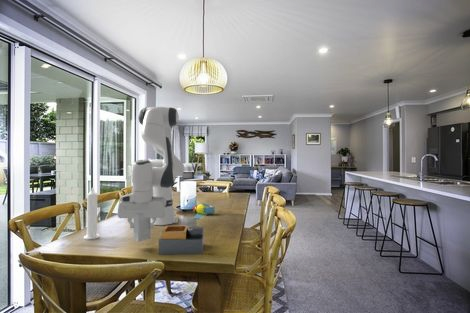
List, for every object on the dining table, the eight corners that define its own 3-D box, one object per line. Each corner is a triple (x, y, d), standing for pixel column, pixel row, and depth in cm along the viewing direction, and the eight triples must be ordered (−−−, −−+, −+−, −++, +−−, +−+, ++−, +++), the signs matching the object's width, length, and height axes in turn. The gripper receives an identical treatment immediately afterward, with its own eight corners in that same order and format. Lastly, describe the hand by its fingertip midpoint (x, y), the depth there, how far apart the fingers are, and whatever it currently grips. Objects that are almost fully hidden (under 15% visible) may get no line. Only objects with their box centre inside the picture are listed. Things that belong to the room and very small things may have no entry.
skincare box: (145, 236, 117) (145, 210, 117) (150, 238, 114) (151, 211, 114) (133, 240, 112) (133, 212, 112) (138, 242, 109) (138, 214, 109)
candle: (85, 236, 129) (85, 186, 129) (100, 234, 132) (101, 186, 132) (82, 240, 123) (82, 188, 123) (98, 238, 125) (99, 187, 125)
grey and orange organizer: (164, 244, 117) (164, 225, 117) (203, 244, 119) (203, 224, 119) (158, 254, 105) (158, 232, 105) (202, 253, 107) (202, 232, 107)
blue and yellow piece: (199, 199, 196) (218, 200, 193) (199, 210, 196) (218, 212, 193) (187, 206, 168) (209, 207, 166) (186, 219, 168) (209, 221, 166)
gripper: (167, 195, 117) (167, 225, 117) (121, 195, 115) (121, 226, 115) (164, 197, 111) (164, 229, 111) (116, 197, 109) (115, 230, 109)
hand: (142, 227), depth 113 cm, fingers closed on skincare box, 7 cm apart
